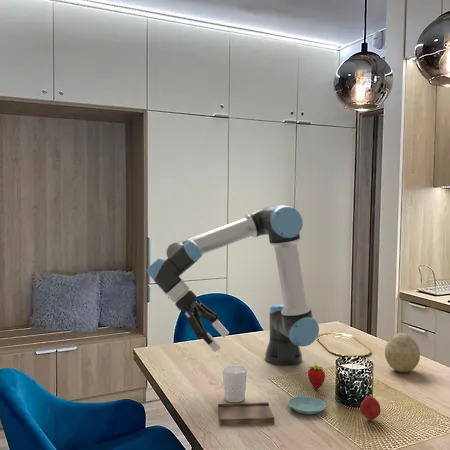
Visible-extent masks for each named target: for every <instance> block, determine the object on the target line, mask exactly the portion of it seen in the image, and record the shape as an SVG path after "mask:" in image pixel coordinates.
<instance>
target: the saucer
mask: <svg viewBox="0 0 450 450" xmlns="http://www.w3.org/2000/svg"><path fill="white" fill-rule="evenodd" d="M287 403H288V406H289V407H291V409H292V410H294V411H296V412H297V413H299V414H302V415H316V414H318V413H320V412H322V411H323V410H325V408H327V404H326V402H325V401H324V400H322V399H320V398H318V397H316V396H315V397H314V396H308V395H307V396H306V395H299V396H294V397H292V398H290V399H289V400H288V401H287Z"/></svg>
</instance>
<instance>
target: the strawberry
mask: <svg viewBox="0 0 450 450" xmlns="http://www.w3.org/2000/svg"><path fill="white" fill-rule="evenodd" d="M314 364H315V365H314V366H308V367H307V368H309V369H308V371H307V378H308V381H309V382H310V383H311V384H310V385H312V387H313V388H314V390H316V391H318V390H320V388H321V387H322V386H323V384H324V382H325V380H326V373H325V371H324V369H323V366H318V365H317V363H316V362H314Z"/></svg>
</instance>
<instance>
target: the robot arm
mask: <svg viewBox="0 0 450 450" xmlns="http://www.w3.org/2000/svg"><path fill="white" fill-rule="evenodd" d="M302 228H303V217H302V215H301V213H300V212H299V210H298V209H296V208H295V207H293V206H290V205H286V204H282V205H280V204H279V205H276V204H275V205H272V204H271V205H267V206H264V207H262V208H260V209H257V210H254V211H253V212H251V213H248V214H246V215H245V216H244V218H242V219H239V220H236V221H234V222H231V223H229V224H226V225H223V226H220V227H217V228H214V229H212V230H209V231H206V232H204V233H201V234H199V235H195V236H193V237H190V238H188V239H185V240H182V241H179V242H173V243H170V244H169V245H168V246H167V248H166V252H165V253H166V256H167V258H166V259H165V258H164V257H159V258H158V259H156V260H155V261H154V262H153V263H151V265H150V266H149V267H147V271H146V272H147V274H148V275H149V277H150V278H151V279H152V280H153V281H154V282H155V284H156V285H157V286H158V287H159V289H161V290H162V292H164V294H165V295H166V296H167V298H168V299H170V300H171V302H172V303H175V306H176V307H177V309H178V310H179V311H180V312H184V311H185V312H184V313H183V316H184V318H185V319H186V320H187V322H188V324H189V326H190V327H191V330H193V331H192V332H193V333H194V335H195V337H196V338H197V339H198V340H201V339H203V341H204V342H205V343H206V344H207V345H208V346H209V347H210V349H211V350H212V351H213V352H214V353H216V352H217V351H218V350H220V349H221V348H222V347H221V345H220V343H218V341H216V340H215V338H214V337H213V336H212V335H211V334H210V332H207V331H206V328H205V326H204V323H203V321H202V318H203V319H204V320H207V321H208V322H210V323H211V325H212V327H213V328H214V329H215V330H216V331H217V332H218V334H220V335H221V337H222V338H223V339H224V338H225V337H227V336H228V335H229V333H230V331H229V330H228V329H226V327H225V326H224V325H223V324H222V323H221V321H220V320H219V318H220V316H219V315H218V314H217V313H216V312H215V311H213V310H212V309H211V308H209V307H208V306H207V305H206V304H204V303H203V302H202V301H201V300H200V299H197V298H198V297H197V295H196V294H195V293H194V292H193V290H191V289H190V287H189V286H188V285H187V284H186V283H185V282H184V280H183V279H182V278H181V277H180V276H182V275H183V274H184V273H185V272H186V271H187V270H188V269H189V268H191V267H192V266H193V265H194V264H195V263H197V262H198V261H199V260H200V259H201V258H202V257H203V255H205V254H208V253H211V252H213V251H215V250H218V249H221V248H223V247H227V246H228V245H232V244H234V243H236V242H239V241H242V240H244V239H247V238H249V237H252V238H257V237H260V236H264V235H265V236H266V235H267V236H268V240H269V244H270V245H271V246H273V247H274V253H275V259H276V263H277V264H276V265H277V270H278V276H279V284H280V288H281V289H280V290H281V295H282V301H283V303H279V304H277V303H276V304H273V305H272V304H271V306H270V307H269V342H268V344H267V346H266V347H267V348H266V351H265V354H264V355H265V356H264V357H265V358H264V360H265V361H266V362H268V363H270V364H273V365H278V366H293V365H294V366H295V365H297V364H300V363H302V362H303V354H302V351H301V348H300V347H308V346H310V345H312V344H313V343H315V341H316V340H317V337H318V335H319V332H320V326H319V324H318V322H317V321H316V319H315V318H313V313H312V307H311V306H310V305H309V304H307V300H306V293H305V286H304V281H303V275H302V267H301V261H300V255H299V249H298V243H299V241H300V240H301V236H300V233H301V230H302Z"/></svg>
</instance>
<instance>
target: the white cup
mask: <svg viewBox="0 0 450 450" xmlns="http://www.w3.org/2000/svg"><path fill="white" fill-rule="evenodd" d="M247 372H248V371H247V367H246V366H243V365H239V364H233V365H232V364H231V365H226V366H224V367H223V369H222V373H223V374H222V377H223V379H222V380H223V391H224V397H223V398H224V400H225V401H226V402H228V403H242V402H243V401H245V399H246V388H247Z"/></svg>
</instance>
